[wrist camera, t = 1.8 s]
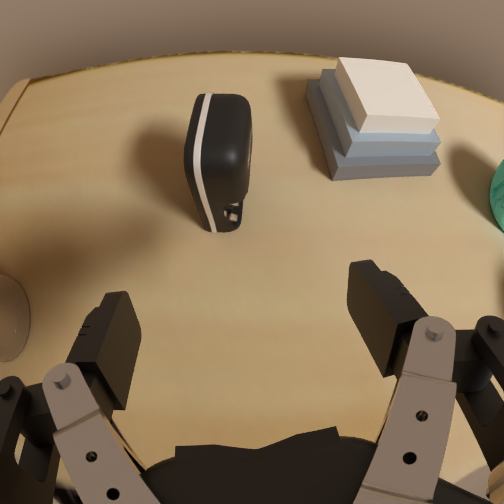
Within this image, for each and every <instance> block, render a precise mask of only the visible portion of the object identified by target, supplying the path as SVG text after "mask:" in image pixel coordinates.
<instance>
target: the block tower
mask: <svg viewBox="0 0 504 504" xmlns="http://www.w3.org/2000/svg"><path fill="white" fill-rule="evenodd" d="M305 96H306V99H307V102H308V105H309V107H310V110H311V113H312V116H313V119H314V122H315V125H316V129H317V132H318V135H319V138H320V141H321V144H322V148H323V151H324V154H325V157H326V161H327V164H328V168H329V171H330V175H331V178H332V181H337V180H351V179H366V178H384V177H405V176H431V175H432V173H433V172H434V171H435V170H436V169H437V168H438V167H439V166H440V164H441V163H440V161H439V159H438V156H437V154H436V152H435V149H436V148H437V147H438V146H439V144H440V143H441V142H440V140H439V138H438V136H437V134H436V132H435V130H434V127H435V126H436V124H437V123H438V121H439V120H440V118H439V116H438V114H437V112H436V110H435V109H434V107H433V105H432V103H431V101H430V100H429V98H428V96H427V95H426V93H425V91H424V90H423V88H422V86H421V85H420V83H419V82H418V80H417V78H416V77H415V75H414V74H413V72H412V71H411V69H410V68H409V66H408V65H407V64H405V63H398V62H389V61H381V60H371V59H357V58H342V57H339V59H338V63H337V67H336V69H322V74H321V78H320V80H308V82H307V87H306V93H305Z"/></svg>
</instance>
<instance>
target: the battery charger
mask: <svg viewBox="0 0 504 504" xmlns="http://www.w3.org/2000/svg"><path fill="white" fill-rule="evenodd" d="M251 152H252V119H251V108H250V105H249V102H248V101H247V99H246V98H245V97H243V96H241V95H237V94H214V92H207V93H206V94H200V95H198V97H197V98H196V101H195V104H194V108H193V111H192V115H191V119H190V124H189V128H188V133H187V137H186V142H185V148H184V170H185V174H186V178H187V181H188V184H189V187H190V190H191V193H192V195H193V198H194V201H195V203H196V206H197V208H198V210H199V213H200V215H201V218H202V221H203V224H204V227H205V229H206V231H209V232H212V233H217V232H231V231H234V230H236V229H237V228H238V227H239V226H240V224H241V218H242V208H243V199H244V198H245V195H246V194H247V192H248V186H249V176H250V162H251Z"/></svg>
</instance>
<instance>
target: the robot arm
mask: <svg viewBox="0 0 504 504" xmlns="http://www.w3.org/2000/svg"><path fill="white" fill-rule="evenodd" d="M347 306H348V310H349V313H350V315H351V317H352V319H353V321H354V323H355V325H356V327H357V328H358V330H359V332H360V334H361V336H362V338H363V340H364V342H365V343H366V345H367V347H368V349H369V351H370V353H371V355H372V357H373V359H374V361H375V363H376V365H377V367H378V369H379V371H380V373H381V374H382V376H383V378H384V377H388V376H392V375H395V376H396V378H397V382H396V384H395V388H394V391H393V394H392V397H391V400H390V403H389V406H388V409H387V411H386V414H385V417H384V420H383V422H382V425H381V428H380V430H379V433H378V435H377V437H376V440H375V442H372V441H368V440H365V439H361V438H356V437H347V436H339V434H338V431H337V428H336V426H335V427H330V428H326V429H321V430H317V431H312V432H306V433H301V434H297V435H294V436H292V437H289V438H287V439H284V440H282V441H279V442H276V443H274V444H271V445H268V446H266V447H263V448H260V449H246V448H237V447H229V446H221V445H196V446H175V457H172V458H169V459H166V460H163V461H161V462H159V463H157V464H154V465H153V466H151V467H150V468H148V469H147V468H146V467H145V465H144V464H143V463H142V462H141V460H140V459H139V458H138V456H137V455H136V454H135V452H134V451H133V449H132V448H131V446H130V445H129V443H128V442H127V440H126V439H125V437H124V436H123V434H122V433H121V431H120V429H119V428H118V426H117V425H116V423H115V421H114V420H113V419H112V413H113V410H125V409H126V404H127V399H128V394H129V389H130V385H131V380H132V376H133V372H134V367H135V363H136V359H137V355H138V351H139V346H140V342H141V328H140V324H139V321H138V319H137V316H136V313H135V311H134V308H133V305H132V302H131V300H130V297H129V294H128V293H127V292H126V291H120V292H110V293H106V294H105V296H104V298H103V300H102V302H101V304H100V306H99V307H95V308H94V309H93V310H92V311H91V312H90V313H89V314H88V315H87V317H86V319H85V321H84V323H83V325H82V328H81V329H80V331H79V333H78V336H77V338H76V340H75V342H74V344H73V346H72V348H71V351H70V353H69V355H68V358H67V360H66V362H65V363H62V364H59V365H56V366H55V367H53V368H52V369H50V370H49V371H48V372H47V374H46V375H45V377H44V379H43V382H42V383H39V384H35V385H31V386H25V385H24V384H23V382H22V381H21V380H20V378H18V377H16V376H9V377H6V378H4V379H2V380H1V381H0V504H53V496H54V490H55V483H56V477H57V472H58V466H59V461H60V456H61V458H62V460H63V463H64V465H65V467H66V469H67V472H68V474H69V476H70V478H71V480H72V482H73V484H74V486H75V488H76V490H77V492H78V494H79V496H80V498H81V500H82V502H83V504H504V401H503V400H502V398H501V396H500V395H499V393H498V391H497V390H496V388H495V387H494V385H493V383H492V382H491V380H490V379H491V377H492V375H494V377H495V378H496V380H497V381H498V383H499V384H500V386H501V388H502V389H503V391H504V320H502V319H501V318H498V317H495V316H484V317H481V318H480V319H479V320H478V322H477V324H476V327H475V329H474V330H455V329H454V327H453V326H452V325H451V324H450V323H449V322H448V321H446V320H444V319H442V318H439V317H434V316H428V314H427V313H426V312H425V311H424V309H423V308H422V307H421V306H420V304H419V303H418V302H417V301H416V299H415V298H414V297H413V296H412V295H411V294H410V293H409V291H408V290H407V289H406V287H404V285H403V284H402V283H401V282H400V280H399V279H398V278H397V277H396V276H394V275H392V274H391V273H389V272H387V271H381V270H380V269H379V268H378V267H377V265H376V264H375V263H374V262H373V261H372V260H363V261H357V262H351V264H350V266H349V278H348V290H347ZM29 327H30V312H29V305H28V300H27V297H26V295H25V292H24V290H23V289H22V287H21V286H20V285H19V284H18V283H17V282H16V281H15V280H13V279H12V278H9V277H7V276H5V275H2V274H0V361H2V362H6V361H10V360H12V359H14V358H15V357H17V356H18V354H19V353H20V352H21V351H22V349H23V347H24V345H25V343H26V340H27V337H28V332H29ZM455 398H456V400H457V402H458V404H459V406H460V407H461V409H462V411H463V413H464V415H465V417H466V419H467V421H468V423H469V425H470V427H471V429H472V431H473V433H474V435H475V438H476V440H477V442H478V444H479V446H480V448H481V450H482V452H483V455H484V457H485V459H486V461H487V464H488V466H489V468H490V471H491V474H490V476H489V480H488V488H487V491H486V496H487V498H488V499H490V501H488V500H486V499H484V498H481V497H479V496H477V495H474V494H472V493H470V492H468V491H466V490H464V489H462V488H459V487H457V486H455V485H453V484H451V483H449V482H447V481H445V480H443V479H441V478H439V474H440V470H441V466H442V462H443V458H444V454H445V450H446V445H447V441H448V436H449V431H450V426H451V421H452V415H453V409H454V402H455ZM20 433H21V434H22V435H23V436H24V437H25V442H24V445H23V449H22V453H21V457H20V461H19V465H18V464H17V462H16V460H15V455H14V452H15V448H16V444H17V441H18V437H19V434H20Z"/></svg>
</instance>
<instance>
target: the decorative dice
mask: <svg viewBox="0 0 504 504" xmlns="http://www.w3.org/2000/svg"><path fill="white" fill-rule="evenodd" d="M490 205H491V209H492V212H493V215H494V217H495V219H496V221H497V223H498V224H499V226H500V227H501V229H502V230H503V231H504V160H503V161H502V162H501V164H500V165H499V167H498V168H497V170H496V172H495V174H494V177H493V180H492V183H491V187H490Z"/></svg>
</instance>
